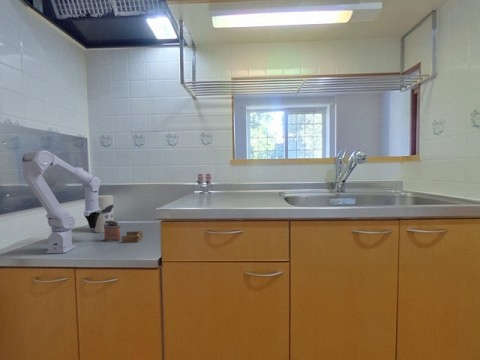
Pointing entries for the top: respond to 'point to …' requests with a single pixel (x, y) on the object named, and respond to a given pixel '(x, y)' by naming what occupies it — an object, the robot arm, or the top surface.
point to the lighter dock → (132, 236)
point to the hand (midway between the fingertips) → (92, 227)
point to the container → (104, 212)
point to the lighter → (112, 231)
